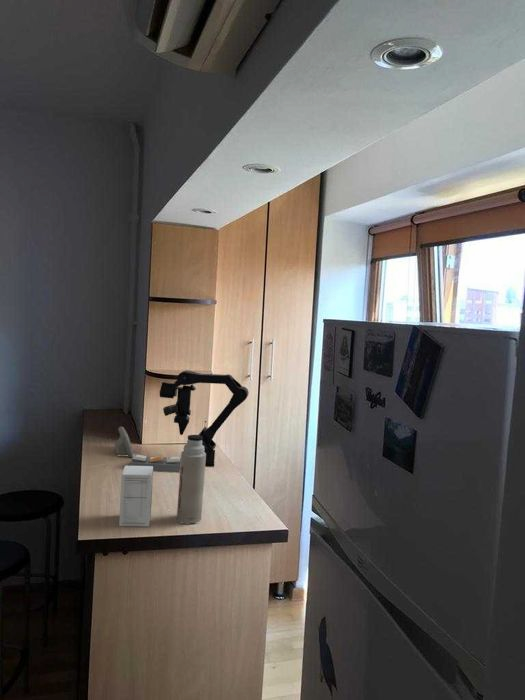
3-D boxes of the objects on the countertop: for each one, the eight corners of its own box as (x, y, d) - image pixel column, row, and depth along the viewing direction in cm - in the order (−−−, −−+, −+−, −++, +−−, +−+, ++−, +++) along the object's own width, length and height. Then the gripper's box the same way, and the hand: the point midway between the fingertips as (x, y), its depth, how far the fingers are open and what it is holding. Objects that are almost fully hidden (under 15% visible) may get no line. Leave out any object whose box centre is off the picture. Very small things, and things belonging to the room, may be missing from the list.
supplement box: (151, 515, 182) (154, 465, 180) (149, 527, 173) (152, 474, 171) (121, 514, 180) (124, 464, 179) (118, 526, 171) (121, 473, 170)
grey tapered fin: (134, 459, 240) (135, 435, 239) (112, 458, 238) (114, 434, 237) (135, 448, 256) (136, 426, 255) (115, 448, 254) (116, 425, 253)
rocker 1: (145, 459, 230) (146, 456, 230) (145, 461, 227) (145, 458, 227) (133, 456, 229) (134, 453, 229) (132, 458, 226) (133, 455, 226)
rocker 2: (180, 459, 231) (179, 456, 231) (179, 461, 228) (179, 458, 228) (167, 460, 231) (167, 457, 231) (166, 462, 228) (166, 459, 228)
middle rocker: (163, 457, 230) (162, 454, 230) (162, 459, 227) (161, 456, 227) (150, 460, 230) (150, 457, 230) (150, 462, 227) (149, 459, 227)
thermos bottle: (175, 523, 177) (181, 438, 174) (177, 514, 185) (183, 432, 182) (200, 524, 177) (207, 440, 175) (201, 515, 185) (207, 433, 183)
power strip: (181, 465, 237) (181, 457, 237) (179, 472, 227) (180, 465, 227) (133, 462, 235) (134, 455, 235) (130, 469, 225) (130, 462, 225)
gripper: (166, 394, 248) (164, 428, 249) (163, 402, 229) (160, 439, 231) (191, 396, 249) (189, 430, 250) (190, 404, 230) (187, 440, 232)
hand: (181, 434), depth 241 cm, fingers closed
